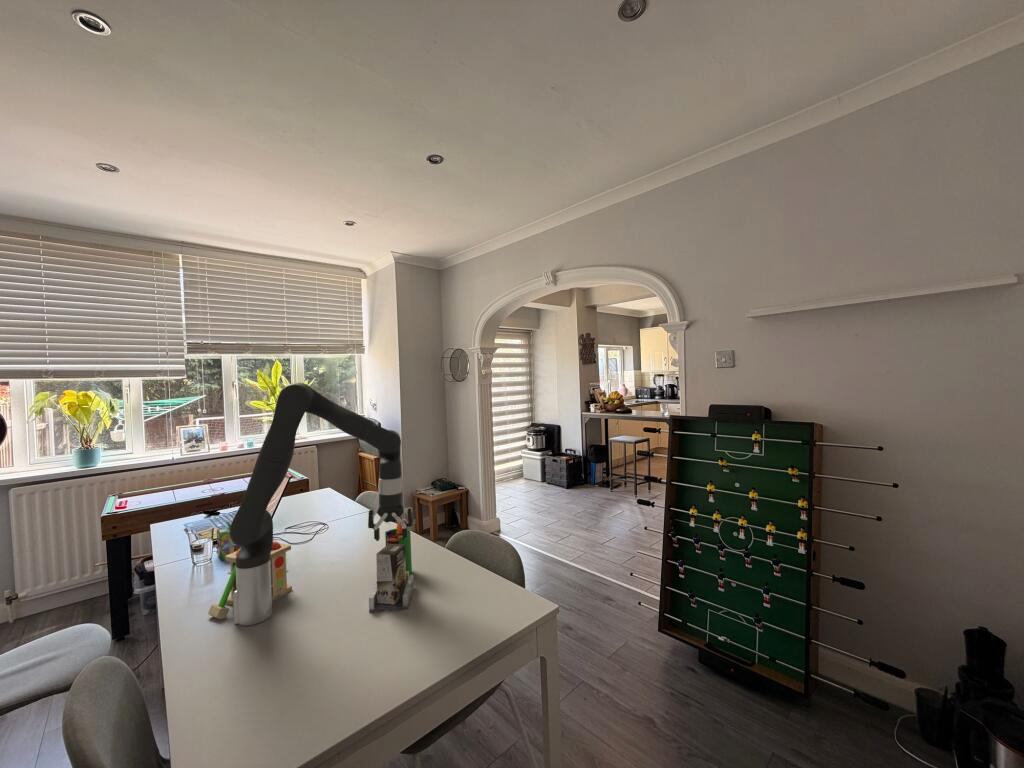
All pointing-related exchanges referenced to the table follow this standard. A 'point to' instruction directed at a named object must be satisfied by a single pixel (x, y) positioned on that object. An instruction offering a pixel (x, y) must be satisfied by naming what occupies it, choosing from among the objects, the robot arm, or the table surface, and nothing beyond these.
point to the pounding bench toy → (277, 579)
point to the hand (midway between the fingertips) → (391, 539)
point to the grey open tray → (400, 604)
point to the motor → (397, 538)
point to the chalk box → (225, 542)
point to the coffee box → (391, 573)
